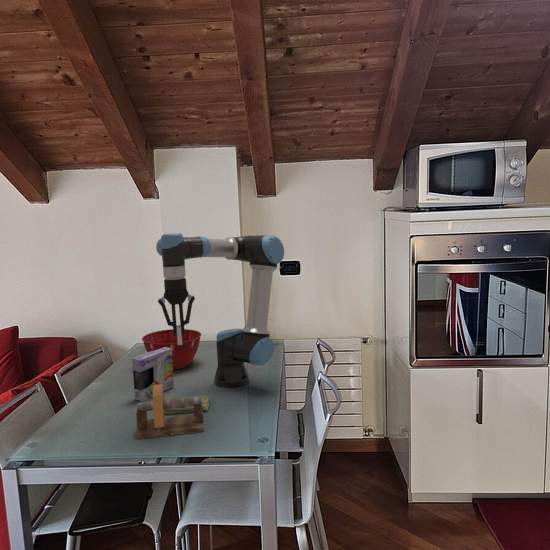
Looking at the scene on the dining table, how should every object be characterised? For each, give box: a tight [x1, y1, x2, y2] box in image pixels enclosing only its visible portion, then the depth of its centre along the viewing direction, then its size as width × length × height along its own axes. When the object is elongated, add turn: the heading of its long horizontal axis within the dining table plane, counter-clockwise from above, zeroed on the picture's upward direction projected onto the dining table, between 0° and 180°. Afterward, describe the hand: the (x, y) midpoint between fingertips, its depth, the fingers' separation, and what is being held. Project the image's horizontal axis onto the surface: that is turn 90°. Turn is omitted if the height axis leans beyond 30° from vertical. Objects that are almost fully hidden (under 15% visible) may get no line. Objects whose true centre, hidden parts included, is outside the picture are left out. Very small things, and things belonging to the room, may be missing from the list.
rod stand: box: [135, 397, 205, 440], centre depth 167 cm, size 22×12×10 cm, turn 102°
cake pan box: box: [131, 347, 175, 402], centre depth 200 cm, size 19×5×18 cm, turn 147°
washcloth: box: [164, 394, 210, 415], centre depth 186 cm, size 13×18×3 cm
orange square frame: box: [152, 384, 165, 428], centre depth 166 cm, size 3×11×11 cm, turn 12°
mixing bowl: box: [141, 328, 202, 371], centre depth 239 cm, size 28×28×15 cm
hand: (179, 343), depth 172 cm, fingers closed
